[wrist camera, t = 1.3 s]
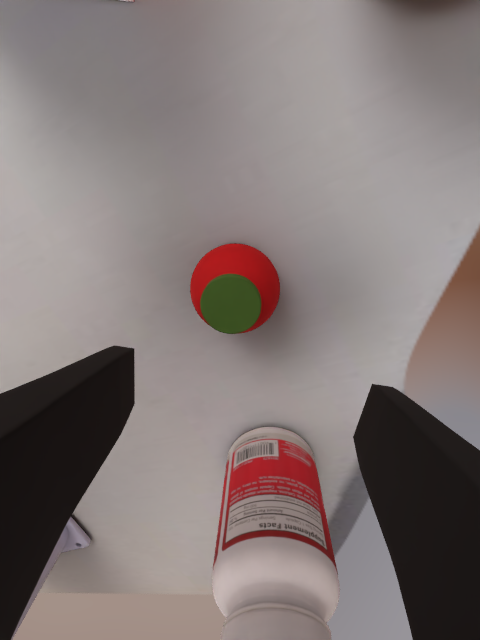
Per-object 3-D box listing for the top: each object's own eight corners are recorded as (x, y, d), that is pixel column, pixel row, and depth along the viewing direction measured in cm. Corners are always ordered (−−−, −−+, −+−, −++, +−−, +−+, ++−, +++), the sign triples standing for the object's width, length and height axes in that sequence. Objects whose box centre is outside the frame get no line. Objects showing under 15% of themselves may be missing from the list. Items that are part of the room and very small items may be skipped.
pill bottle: (283, 499, 24) (298, 729, 14) (213, 465, 23) (173, 685, 13) (331, 447, 22) (394, 677, 11) (256, 408, 21) (250, 619, 10)
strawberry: (218, 324, 19) (205, 364, 14) (186, 256, 17) (160, 278, 13) (288, 298, 18) (297, 333, 13) (260, 224, 16) (260, 236, 12)
